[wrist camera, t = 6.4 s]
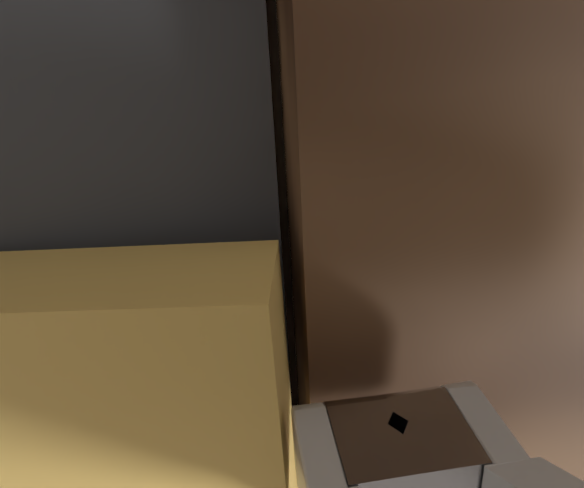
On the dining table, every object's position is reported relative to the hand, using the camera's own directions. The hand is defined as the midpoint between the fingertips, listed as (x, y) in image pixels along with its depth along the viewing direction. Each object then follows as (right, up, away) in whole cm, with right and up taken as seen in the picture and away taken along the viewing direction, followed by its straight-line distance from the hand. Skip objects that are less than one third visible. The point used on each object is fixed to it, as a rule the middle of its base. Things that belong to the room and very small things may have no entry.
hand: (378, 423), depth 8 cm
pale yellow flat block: (-5, 0, +1) cm, 5 cm away
